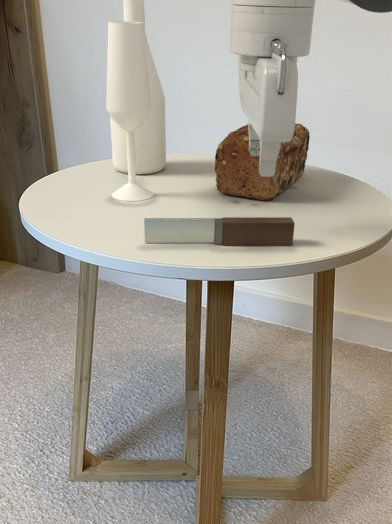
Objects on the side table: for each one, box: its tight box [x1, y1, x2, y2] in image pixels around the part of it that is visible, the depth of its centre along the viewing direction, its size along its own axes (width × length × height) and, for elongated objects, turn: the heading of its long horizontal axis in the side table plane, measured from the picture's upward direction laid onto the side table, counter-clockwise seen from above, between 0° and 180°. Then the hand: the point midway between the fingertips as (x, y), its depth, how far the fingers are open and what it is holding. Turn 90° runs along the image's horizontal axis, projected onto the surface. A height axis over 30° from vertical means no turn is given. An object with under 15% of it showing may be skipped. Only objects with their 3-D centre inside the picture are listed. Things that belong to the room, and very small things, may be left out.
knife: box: [143, 216, 295, 246], centre depth 77 cm, size 19×2×3 cm, turn 92°
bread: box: [213, 122, 311, 201], centre depth 98 cm, size 19×11×10 cm, turn 154°
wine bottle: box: [109, 0, 167, 175], centre depth 101 cm, size 10×10×30 cm
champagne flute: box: [105, 20, 155, 202], centre depth 89 cm, size 7×7×24 cm
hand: (260, 164), depth 73 cm, fingers open, 8 cm apart
